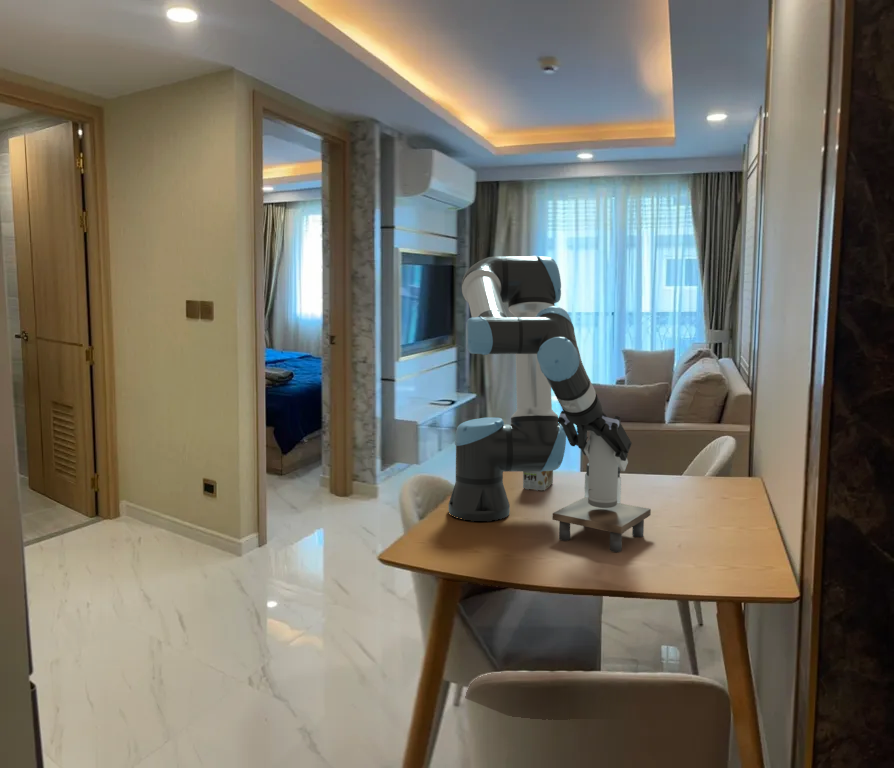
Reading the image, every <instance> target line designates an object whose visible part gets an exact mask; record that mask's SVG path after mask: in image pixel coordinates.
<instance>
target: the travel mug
mask: <svg viewBox="0 0 894 768" xmlns="http://www.w3.org/2000/svg"><path fill="white" fill-rule="evenodd" d="M608 426H609V425H608ZM589 440H590V446H589V459H588V463H589V487H588V495H589V496H588V503H589V504H590V505H592V506H594V507H600V508H610V507H614V506H616V505H617V486H618V463H617V461H616V459H615V457H614V455H613V453H614V450H613V449H612V448H611V447H610V446H609V445H608V444H607V443H606V442H605V441H604V439H603V438H602V437H601V436H597V435H596V434H595V433H594V432H593V431H590V430H589Z"/></svg>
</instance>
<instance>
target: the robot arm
mask: <svg viewBox="0 0 894 768" xmlns="http://www.w3.org/2000/svg"><path fill="white" fill-rule="evenodd" d="M561 288H562V281H561V274H560V270H559V267H558V264H557V262H556V261H555V260H554V258H553V257H550V256H540V255H539V256H538V255H530V256H529V255H528V256H523V255H522V256H515V255H514V256H513V255H511V256H508V255H507V256H506V255H505V256H502V255H501V256H500V255H495V256H488V257H486V258H483V259H480V260H479V261H478V262H476V263H475V264H473V265H471V266H470V268H468V269H467V270H466V272H465V274H464V275H463V277H462V280H461V292H462V293H461V294H462V296H463V298H464V299H465V302H467V303H468V305H469V311H470V315H471V317H469V318H468V319H467V320H466V323H465V344H466V347H465V348H466V351H467V352H468V353H469V354H471V355H475V354H477V355H483V356H486V355H488V356H489V355H515V379H516V380H515V382H516V383H515V384H516V386H515V387H516V388H515V389H516V409H515V410H516V411H514V413H513V414H512V415H511V416H510V423H505V422H504V419H502V418H501V417H497V416H496V417H495V416H494V417H491V416H490V417H481V418H473V419H469V420H466V421H464V422H461V423H460V424H458V426H457V428H456V430H455V440H454V445H455V482H454V485H453V486H454V487H453V489H452V492H451V495H450V498H449V502H448V510H447V511H449V513H450V514H451V515H453V516H455V517H458V518H462V519H465V520H472V521H471V522H474V521H487V522H493V521H492V520H495V521H499V520H498V519H500V520H503V519H506V518H508V516H509V515H510V514H511V513H510V512H511V511H510V510H511V507H510V502H509V499H508V495H507V492H506V489H505V486H504V472H507V473H508V472H516V473H517V472H523V471H539V472H542V471H553V472H554V471H556V470H558V469H559V468H560V467H561V465H562V463H563V459H564V457H565V453H566V452H565V451H566V444H567V440H568V443H569V445H570V446H571V447H576V446H577V447H578V448H579V449H580V450H581V452H582V454H583V455H584V456H586V457H587V459H588V460H589V446H590V439H589V440H588V438H589V436H588V432H590V431H593V432H594V433H595V434H596V435H597V436H601V437H602V438H603V439H604V441H605V442H606V443H607V444H608V445H609V446H610V447H611V448H612V449H613V450H614V453H613V455H614V457H615V459H616V461H617V463H618V465H619V467H620V472H626V468H627V467H628V466H627V465H628V464H629V460H628V456H629V455H628V454H629V451H630V449H631V446H632V445H633V443H632V441H631V439H630V438H629V435H628V433H627V432H626V430H625V429H624V427H623V425H622V423H621V416H618V415H616V416H614V418H612V417H608V415H607V414H606V413H605V412H604V411H603V407H602V403H601V400H600V399H599V396H598V395H597V393H596V389H595V388H594V385H593V383H592V382H591V379H590V377H589V376H588V373H587V370H586V369H585V367H584V364H583V361H582V357H581V354H580V350H579V346H578V343H577V339H576V333H575V328H574V325H573V322H572V319H571V317H570V315H569V313H568V312H567V311H566V309H564V308H563V307H560V306H556V305H555V304H557V303H559V302H560V300H561V298H562V297H561V296H562V289H561ZM504 303H508V304H507V307H508V311H509V312H510V313H511V314H512V316H508V314H507V311H506V309H505V306H504ZM552 392H553V393H554V395H555V399H557V401H558V403H559V405H560V407H561V409H562V410H561V411H560V414H559V415H558V414H557V413H556V412H554V410H553V408H552ZM608 425H609V426H608ZM575 426H576V427H575ZM449 513H448V514H449ZM509 513H510V514H509ZM505 517H506V518H505ZM502 518H503V519H502ZM465 520H464V521H465Z"/></svg>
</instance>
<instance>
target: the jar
mask: <svg viewBox="0 0 894 768" xmlns="http://www.w3.org/2000/svg"><path fill="white" fill-rule="evenodd" d="M585 468H586V470H585V471H586V472H585V473H584V497H588V496H589V495H588V487H589V462H588V463H586V467H585ZM620 475H621V469H620V467H619V465H618V486H617V503H621V498H622V497H621V495H622V488H621V486H622V477H621V476H620Z"/></svg>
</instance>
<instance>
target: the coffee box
mask: <svg viewBox="0 0 894 768" xmlns="http://www.w3.org/2000/svg"><path fill="white" fill-rule="evenodd" d="M522 476H523V477H522V489H523V488H525V489H524V490H529V489H535V490H534V491H538V490H544V491H546V490H547V489H548V488H549V487H551V486H552V485H553V484H554V470H553V471H542V472H539V471H522ZM552 483H553V484H552ZM551 484H552V485H551ZM550 485H551V486H550ZM547 487H548V488H547ZM546 488H547V489H546ZM545 489H546V490H545Z"/></svg>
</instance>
